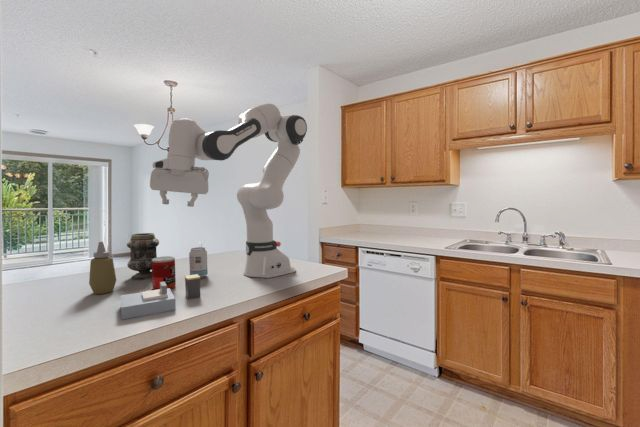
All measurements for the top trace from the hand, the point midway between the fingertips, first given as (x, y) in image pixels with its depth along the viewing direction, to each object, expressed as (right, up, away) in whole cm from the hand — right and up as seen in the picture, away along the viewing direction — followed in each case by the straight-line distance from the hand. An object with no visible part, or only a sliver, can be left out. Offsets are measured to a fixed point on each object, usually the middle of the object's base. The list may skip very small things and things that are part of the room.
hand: (178, 205), depth 113 cm
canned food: (-9, -31, +8) cm, 33 cm away
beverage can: (-1, -30, +22) cm, 37 cm away
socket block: (-4, -32, -13) cm, 35 cm away
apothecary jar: (-24, -29, +23) cm, 44 cm away
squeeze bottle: (-28, -31, +3) cm, 42 cm away
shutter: (-2, -28, -12) cm, 31 cm away
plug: (+6, -31, -2) cm, 32 cm away
